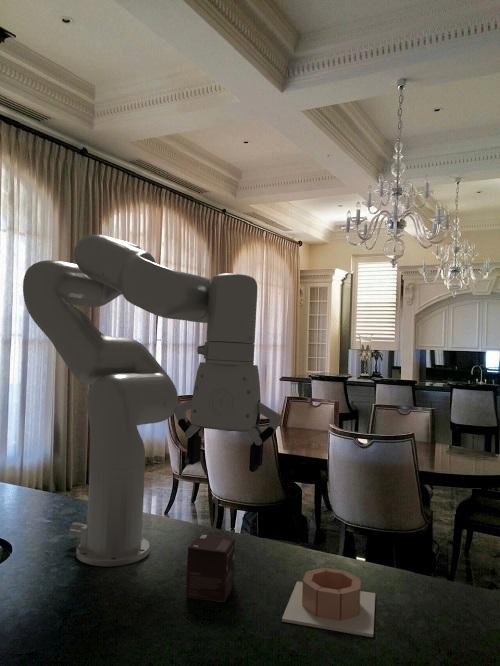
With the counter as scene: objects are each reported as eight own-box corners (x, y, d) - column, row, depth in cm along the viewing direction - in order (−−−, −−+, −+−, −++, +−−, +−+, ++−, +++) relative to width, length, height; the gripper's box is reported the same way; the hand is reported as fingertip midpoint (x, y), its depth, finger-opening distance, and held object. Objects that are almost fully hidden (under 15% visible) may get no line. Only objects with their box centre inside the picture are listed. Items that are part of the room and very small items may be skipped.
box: (224, 604, 73) (226, 552, 73) (184, 598, 74) (186, 547, 74) (234, 585, 79) (236, 537, 79) (197, 580, 80) (199, 533, 80)
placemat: (281, 621, 68) (281, 618, 68) (297, 583, 80) (297, 581, 80) (373, 637, 65) (373, 634, 65) (375, 595, 77) (375, 593, 77)
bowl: (299, 613, 70) (299, 587, 70) (307, 588, 77) (308, 565, 78) (358, 623, 68) (358, 597, 68) (361, 597, 75) (361, 573, 75)
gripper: (168, 351, 77) (161, 465, 76) (279, 357, 72) (273, 478, 71) (187, 352, 84) (181, 456, 83) (289, 357, 79) (284, 467, 79)
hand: (223, 466), depth 77 cm, fingers open, 9 cm apart
